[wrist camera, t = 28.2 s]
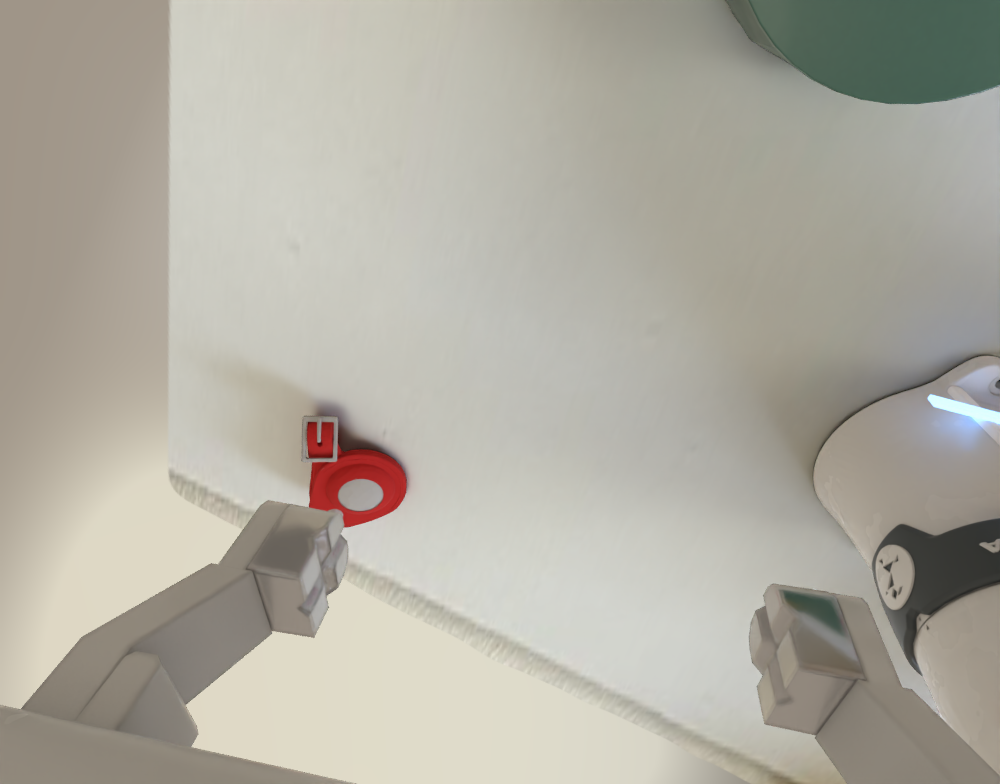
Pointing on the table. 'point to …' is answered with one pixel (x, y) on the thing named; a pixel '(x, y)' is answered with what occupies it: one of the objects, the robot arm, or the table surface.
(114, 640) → the robot arm
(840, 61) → the tin lid
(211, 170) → the table surface
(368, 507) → the tracker holder
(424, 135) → the table surface
